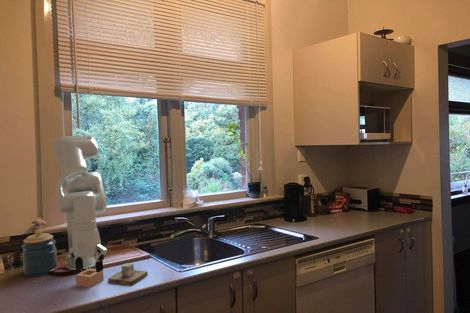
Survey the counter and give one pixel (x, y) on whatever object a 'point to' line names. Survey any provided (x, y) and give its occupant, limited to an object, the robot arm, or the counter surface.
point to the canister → (39, 254)
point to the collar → (89, 278)
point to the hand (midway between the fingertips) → (89, 270)
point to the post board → (127, 279)
